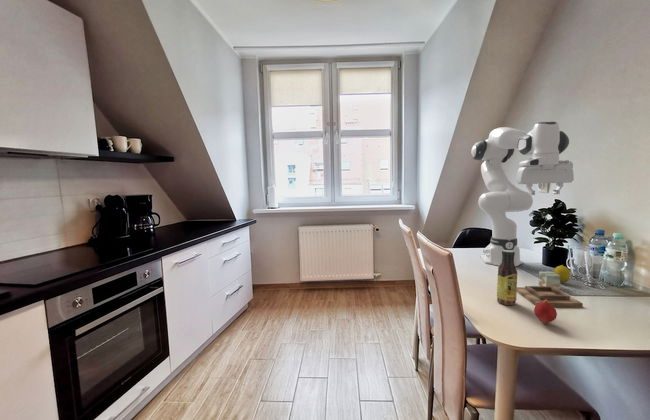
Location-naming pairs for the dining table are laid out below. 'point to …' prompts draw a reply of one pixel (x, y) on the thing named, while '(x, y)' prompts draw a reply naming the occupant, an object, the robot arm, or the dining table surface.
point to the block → (549, 279)
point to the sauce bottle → (507, 279)
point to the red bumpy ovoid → (545, 312)
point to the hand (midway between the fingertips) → (544, 194)
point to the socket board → (548, 296)
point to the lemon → (562, 273)
